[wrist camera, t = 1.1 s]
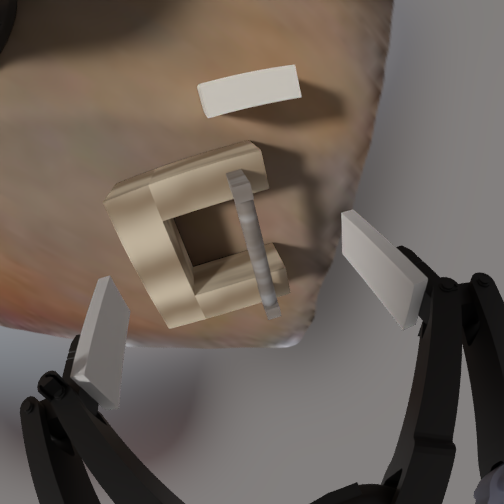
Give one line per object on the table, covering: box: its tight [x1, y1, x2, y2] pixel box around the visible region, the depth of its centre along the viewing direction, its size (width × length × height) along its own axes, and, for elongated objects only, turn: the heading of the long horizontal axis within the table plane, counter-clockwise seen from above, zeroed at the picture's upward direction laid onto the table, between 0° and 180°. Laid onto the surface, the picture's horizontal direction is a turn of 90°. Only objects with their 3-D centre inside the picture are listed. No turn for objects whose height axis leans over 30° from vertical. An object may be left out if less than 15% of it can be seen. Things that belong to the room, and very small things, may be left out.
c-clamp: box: [103, 140, 290, 329], centre depth 31 cm, size 18×16×10 cm
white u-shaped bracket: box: [197, 65, 302, 118], centre depth 24 cm, size 3×8×8 cm, turn 103°
